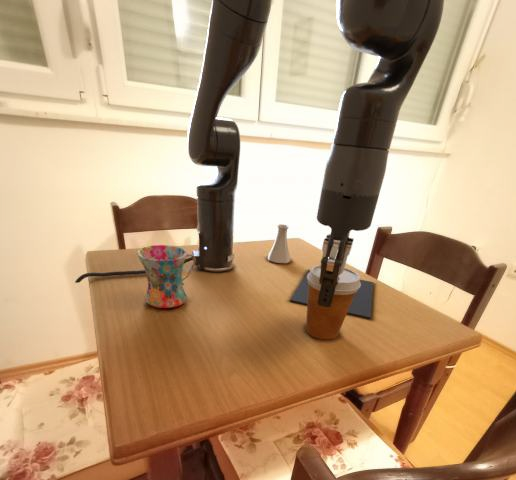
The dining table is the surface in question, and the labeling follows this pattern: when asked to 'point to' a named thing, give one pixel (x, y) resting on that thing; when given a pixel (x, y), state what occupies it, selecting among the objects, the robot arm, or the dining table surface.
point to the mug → (164, 274)
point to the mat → (358, 306)
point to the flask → (280, 247)
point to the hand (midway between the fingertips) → (324, 304)
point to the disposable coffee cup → (331, 318)
